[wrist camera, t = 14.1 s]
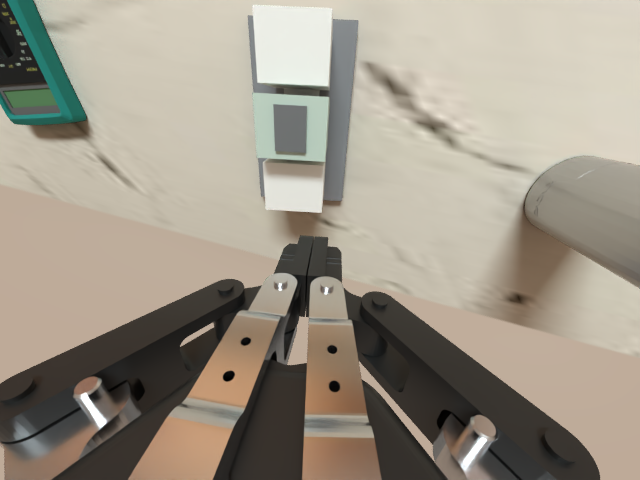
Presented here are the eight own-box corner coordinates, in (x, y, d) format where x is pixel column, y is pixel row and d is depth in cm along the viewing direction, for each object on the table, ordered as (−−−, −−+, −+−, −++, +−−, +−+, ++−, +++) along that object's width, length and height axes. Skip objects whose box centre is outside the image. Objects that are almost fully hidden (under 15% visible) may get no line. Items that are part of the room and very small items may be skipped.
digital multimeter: (11, -65, 22) (-34, -89, 19) (93, 122, 29) (69, 123, 26) (-63, -57, 22) (-116, -79, 20) (36, 125, 29) (7, 126, 27)
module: (330, 99, 24) (328, 96, 17) (327, 147, 27) (324, 162, 19) (275, 96, 25) (251, 92, 17) (276, 144, 27) (255, 158, 19)
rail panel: (357, 24, 23) (367, -11, 16) (341, 197, 31) (343, 223, 24) (251, 19, 23) (217, -17, 16) (263, 193, 31) (244, 217, 25)
